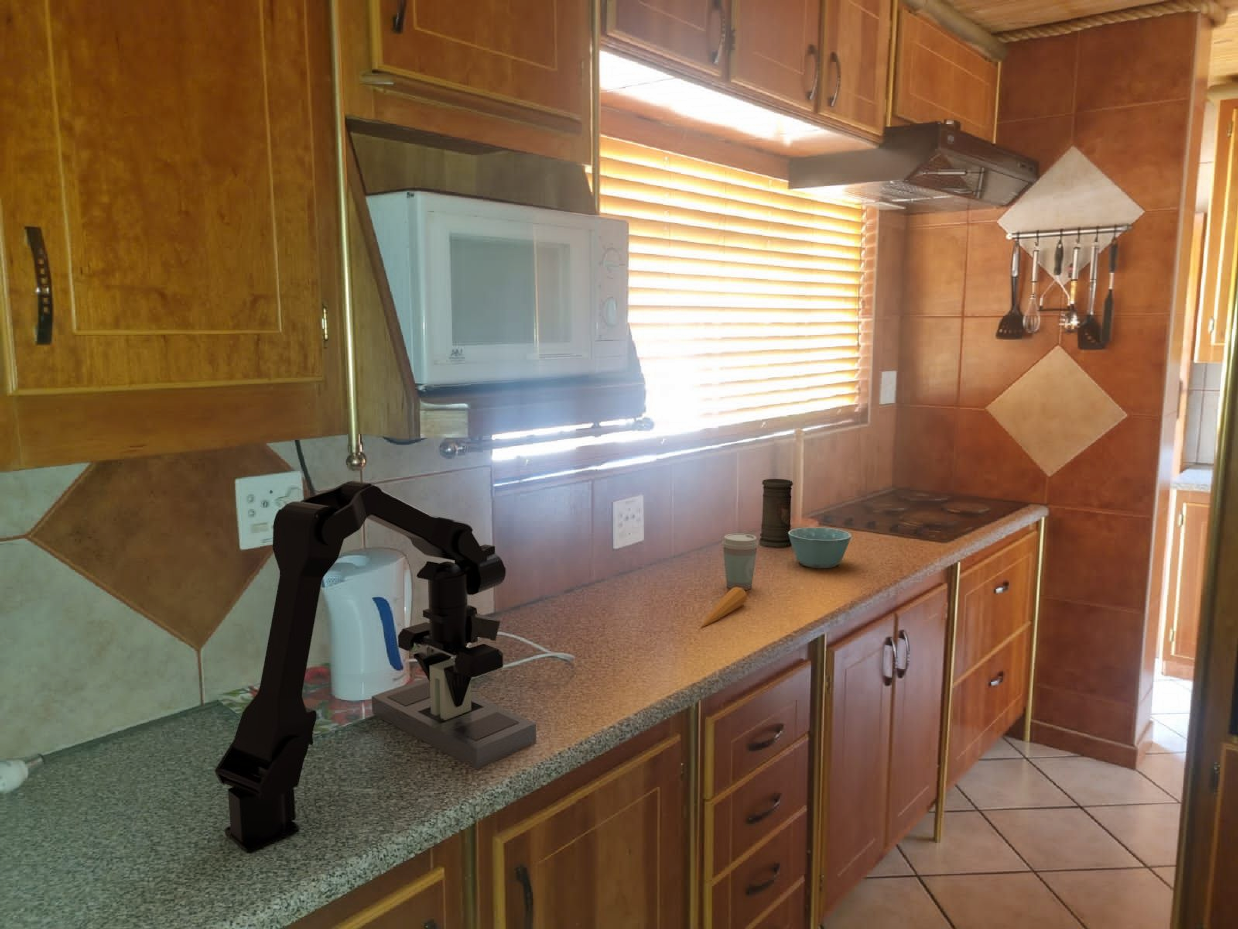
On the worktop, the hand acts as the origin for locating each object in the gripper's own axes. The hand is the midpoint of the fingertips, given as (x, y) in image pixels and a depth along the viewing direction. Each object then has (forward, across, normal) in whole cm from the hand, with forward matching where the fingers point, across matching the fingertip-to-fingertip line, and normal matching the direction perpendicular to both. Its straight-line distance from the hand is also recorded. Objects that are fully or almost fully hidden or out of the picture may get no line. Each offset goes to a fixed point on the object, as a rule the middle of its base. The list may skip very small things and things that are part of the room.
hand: (450, 702), depth 136 cm
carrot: (+4, +2, -72) cm, 72 cm away
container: (+4, +28, -134) cm, 137 cm away
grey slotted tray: (+4, 0, 0) cm, 4 cm away
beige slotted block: (+2, 0, 0) cm, 2 cm away
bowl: (+4, +8, -123) cm, 123 cm away
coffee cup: (+4, +12, -92) cm, 93 cm away
